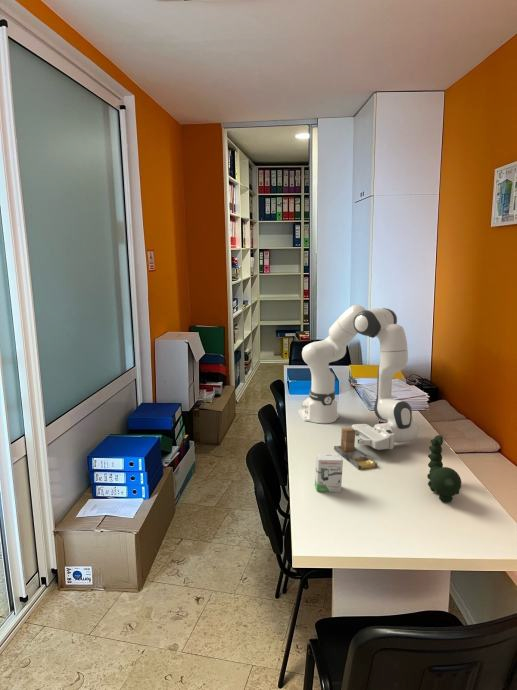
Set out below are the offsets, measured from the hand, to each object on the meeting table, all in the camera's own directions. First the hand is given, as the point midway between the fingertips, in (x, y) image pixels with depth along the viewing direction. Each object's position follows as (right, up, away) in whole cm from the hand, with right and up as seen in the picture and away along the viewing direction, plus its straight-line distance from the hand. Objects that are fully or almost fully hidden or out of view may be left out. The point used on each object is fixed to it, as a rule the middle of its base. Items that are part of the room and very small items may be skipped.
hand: (352, 437), depth 204 cm
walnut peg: (-2, -6, 0) cm, 6 cm away
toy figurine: (+24, -13, -32) cm, 42 cm away
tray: (0, -7, -5) cm, 9 cm away
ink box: (-14, -12, -31) cm, 36 cm away
